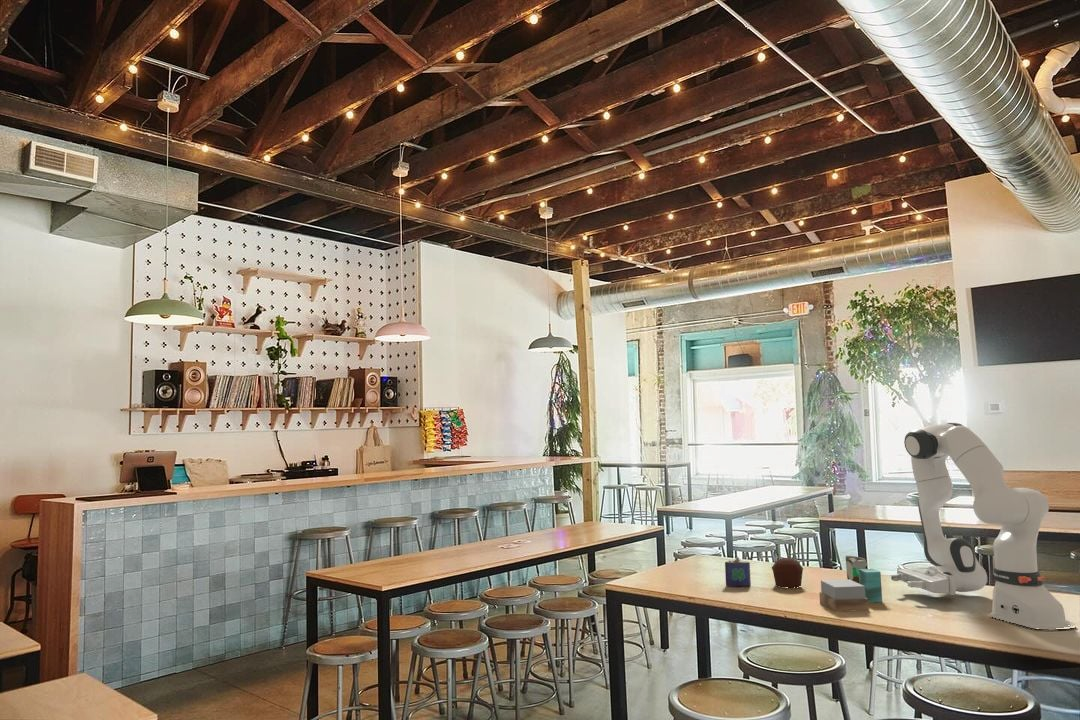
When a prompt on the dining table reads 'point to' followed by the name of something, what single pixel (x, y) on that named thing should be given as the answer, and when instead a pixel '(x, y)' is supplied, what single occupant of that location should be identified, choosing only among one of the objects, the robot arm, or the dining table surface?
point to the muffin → (787, 573)
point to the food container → (854, 567)
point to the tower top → (842, 589)
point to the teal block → (871, 584)
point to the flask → (737, 573)
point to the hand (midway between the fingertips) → (900, 581)
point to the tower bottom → (844, 603)
